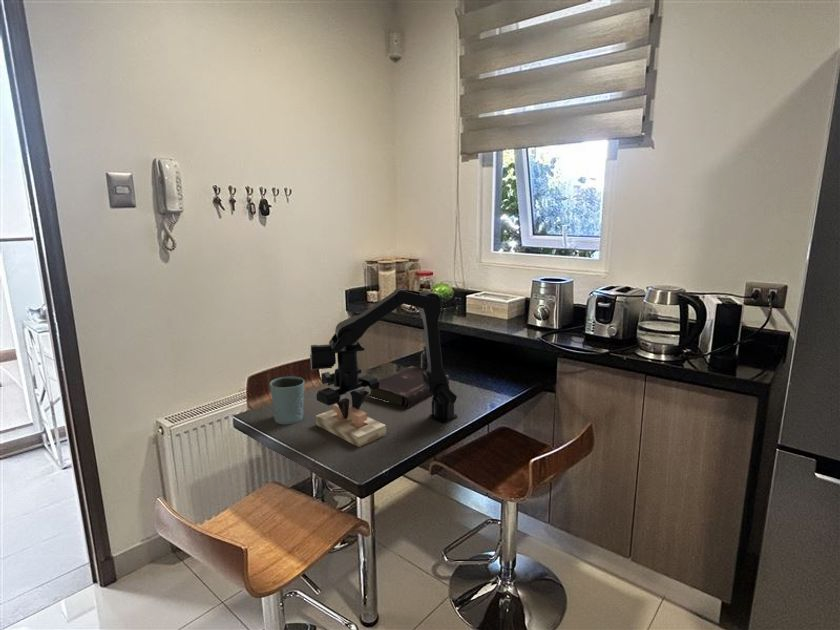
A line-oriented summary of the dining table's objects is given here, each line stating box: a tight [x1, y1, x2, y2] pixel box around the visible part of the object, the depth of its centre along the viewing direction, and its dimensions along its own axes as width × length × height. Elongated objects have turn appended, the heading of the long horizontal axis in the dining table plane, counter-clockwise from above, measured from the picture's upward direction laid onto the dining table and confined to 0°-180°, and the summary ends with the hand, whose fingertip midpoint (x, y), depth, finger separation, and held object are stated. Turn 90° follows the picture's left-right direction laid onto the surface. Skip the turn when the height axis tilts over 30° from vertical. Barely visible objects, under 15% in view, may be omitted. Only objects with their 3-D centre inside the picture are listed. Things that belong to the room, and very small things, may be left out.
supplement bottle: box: [420, 344, 428, 369], centre depth 186 cm, size 7×7×12 cm
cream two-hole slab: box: [315, 409, 387, 448], centre depth 144 cm, size 20×10×3 cm, turn 46°
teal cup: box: [269, 376, 306, 425], centre depth 151 cm, size 10×10×12 cm
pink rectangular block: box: [332, 403, 368, 429], centre depth 143 cm, size 12×3×5 cm, turn 46°
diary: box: [370, 365, 450, 409], centre depth 173 cm, size 19×25×5 cm
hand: (350, 417), depth 143 cm, fingers closed on pink rectangular block, 3 cm apart
